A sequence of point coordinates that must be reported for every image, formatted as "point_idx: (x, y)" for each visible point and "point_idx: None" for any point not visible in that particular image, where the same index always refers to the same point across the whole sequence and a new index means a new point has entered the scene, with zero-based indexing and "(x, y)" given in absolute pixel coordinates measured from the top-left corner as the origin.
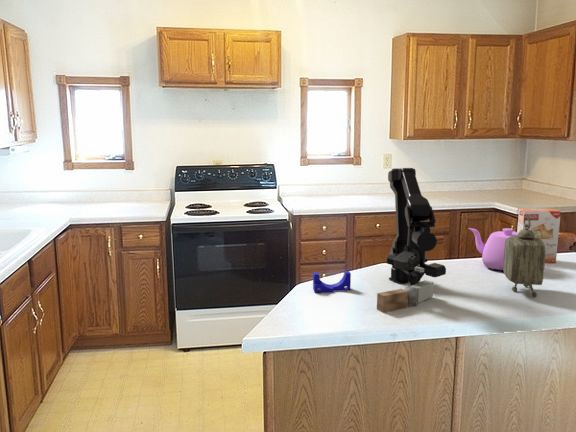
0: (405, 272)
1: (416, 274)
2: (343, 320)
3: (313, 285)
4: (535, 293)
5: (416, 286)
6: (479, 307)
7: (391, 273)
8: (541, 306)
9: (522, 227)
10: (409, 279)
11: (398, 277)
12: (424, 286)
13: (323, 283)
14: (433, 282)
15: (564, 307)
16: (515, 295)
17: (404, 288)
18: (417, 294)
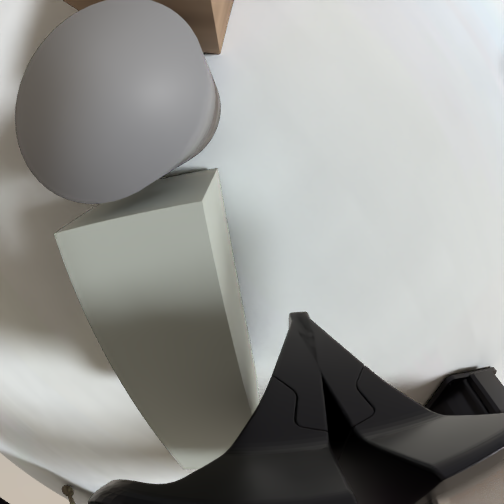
0: (465, 418)
1: (136, 484)
2: None
3: None
4: (62, 491)
5: (138, 281)
6: (6, 380)
7: (502, 387)
8: (11, 448)
9: None
10: (361, 376)
11: (469, 394)
12: (114, 362)
13: None
14: (184, 465)
15: (6, 455)
16: (90, 486)
17: (180, 26)
18: (107, 204)
